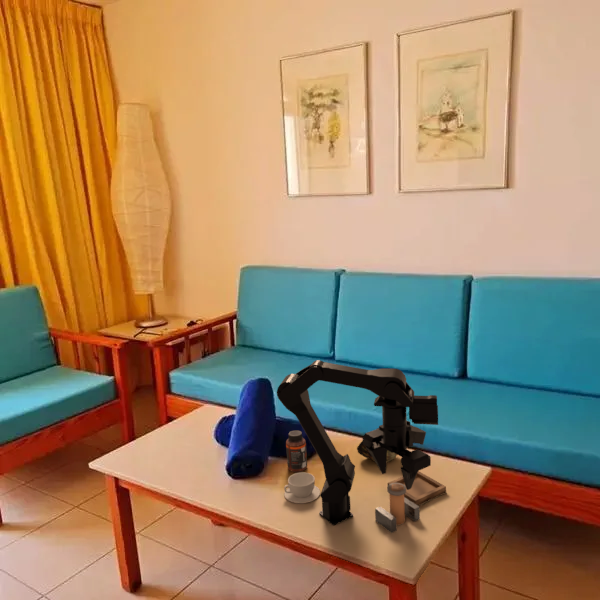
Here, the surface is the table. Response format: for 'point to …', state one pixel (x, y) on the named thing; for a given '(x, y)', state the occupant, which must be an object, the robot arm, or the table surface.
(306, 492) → the teacup
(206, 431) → the table surface
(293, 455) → the supplement bottle
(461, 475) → the table surface
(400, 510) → the pin
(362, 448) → the seashell
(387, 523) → the hitch bracket
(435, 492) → the tray
